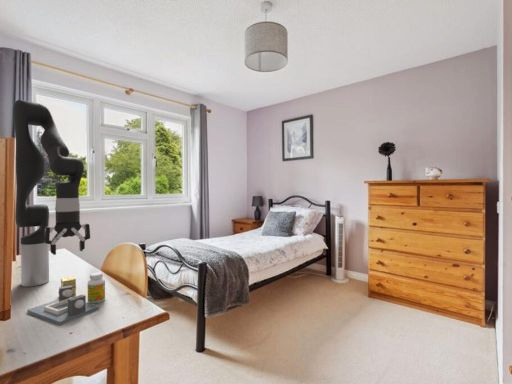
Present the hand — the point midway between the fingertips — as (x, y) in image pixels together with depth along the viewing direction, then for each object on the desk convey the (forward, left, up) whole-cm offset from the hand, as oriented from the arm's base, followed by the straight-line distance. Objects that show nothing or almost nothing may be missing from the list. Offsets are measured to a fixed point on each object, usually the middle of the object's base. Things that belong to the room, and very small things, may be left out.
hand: (68, 252), depth 104 cm
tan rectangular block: (0, 0, -16) cm, 16 cm away
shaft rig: (+13, -9, -16) cm, 23 cm away
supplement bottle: (+15, +1, -16) cm, 22 cm away
